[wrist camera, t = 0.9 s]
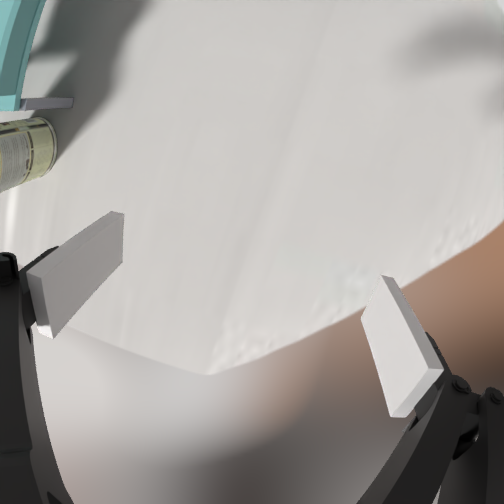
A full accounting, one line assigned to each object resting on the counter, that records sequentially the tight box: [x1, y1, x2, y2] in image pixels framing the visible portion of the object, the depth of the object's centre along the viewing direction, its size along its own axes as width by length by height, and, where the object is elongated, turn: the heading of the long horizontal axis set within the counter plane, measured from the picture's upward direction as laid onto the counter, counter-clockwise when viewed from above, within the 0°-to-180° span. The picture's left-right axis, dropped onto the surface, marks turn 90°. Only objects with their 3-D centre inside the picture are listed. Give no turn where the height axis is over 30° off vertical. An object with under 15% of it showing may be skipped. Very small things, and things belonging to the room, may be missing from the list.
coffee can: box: [0, 117, 57, 193], centre depth 32 cm, size 10×10×14 cm
